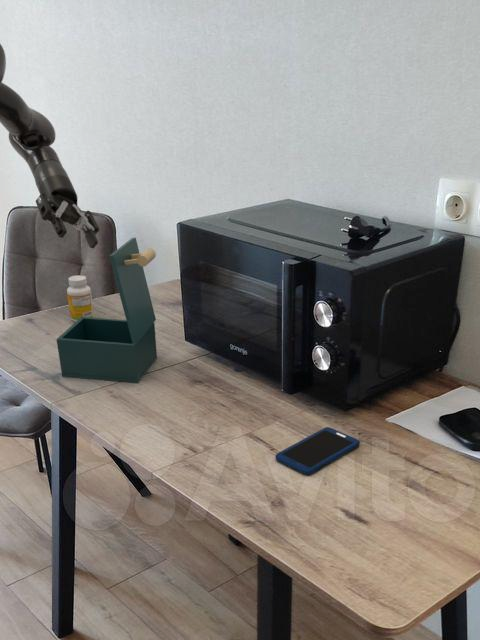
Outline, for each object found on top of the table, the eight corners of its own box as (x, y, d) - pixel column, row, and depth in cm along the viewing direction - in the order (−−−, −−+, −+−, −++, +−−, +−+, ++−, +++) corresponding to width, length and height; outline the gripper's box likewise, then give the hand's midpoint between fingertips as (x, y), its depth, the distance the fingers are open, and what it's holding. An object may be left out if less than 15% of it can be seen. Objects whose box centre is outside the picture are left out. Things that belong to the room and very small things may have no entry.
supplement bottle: (74, 314, 168) (68, 273, 163) (96, 315, 168) (91, 274, 162) (68, 322, 163) (62, 281, 158) (91, 323, 163) (85, 281, 158)
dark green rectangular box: (62, 376, 139) (56, 339, 134) (86, 352, 149) (81, 316, 145) (138, 383, 137) (134, 345, 132) (157, 357, 147) (154, 322, 143)
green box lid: (108, 255, 124) (137, 252, 123) (131, 237, 134) (158, 234, 133) (132, 343, 132) (159, 340, 131) (152, 320, 143) (177, 317, 142)
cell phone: (361, 444, 118) (361, 440, 117) (307, 476, 109) (308, 472, 109) (327, 429, 122) (327, 425, 122) (273, 459, 113) (273, 455, 113)
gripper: (37, 163, 152) (61, 218, 147) (89, 185, 164) (113, 237, 159) (19, 188, 156) (42, 243, 151) (71, 208, 168) (94, 260, 163)
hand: (79, 240), depth 155 cm, fingers open, 8 cm apart
